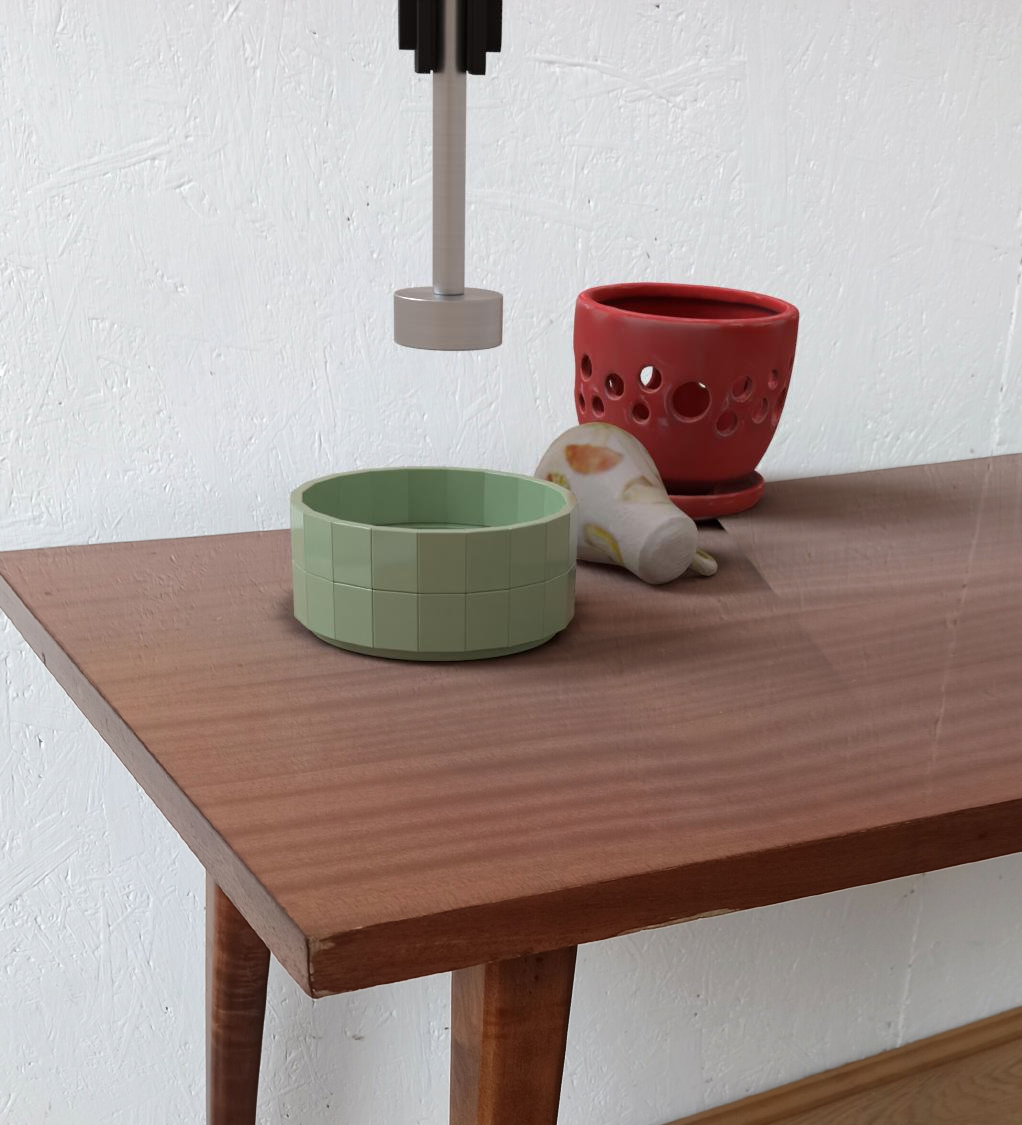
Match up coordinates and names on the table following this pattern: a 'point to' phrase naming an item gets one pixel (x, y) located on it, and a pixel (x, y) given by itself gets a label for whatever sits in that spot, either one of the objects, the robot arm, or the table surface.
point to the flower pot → (688, 382)
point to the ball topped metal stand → (449, 217)
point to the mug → (623, 504)
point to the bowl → (433, 561)
